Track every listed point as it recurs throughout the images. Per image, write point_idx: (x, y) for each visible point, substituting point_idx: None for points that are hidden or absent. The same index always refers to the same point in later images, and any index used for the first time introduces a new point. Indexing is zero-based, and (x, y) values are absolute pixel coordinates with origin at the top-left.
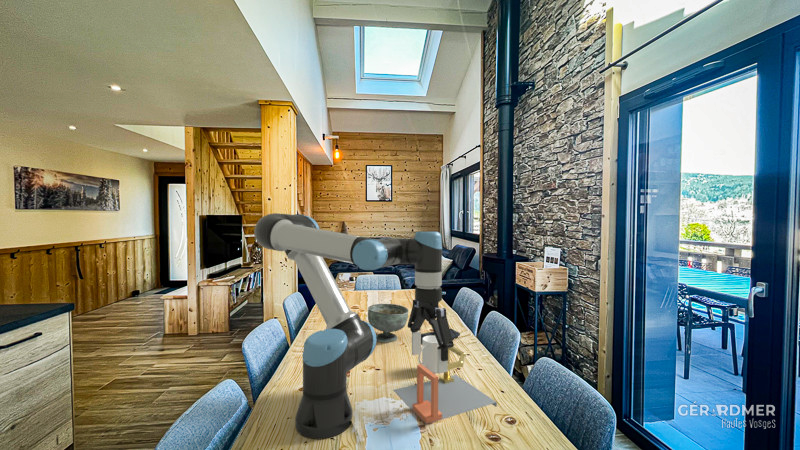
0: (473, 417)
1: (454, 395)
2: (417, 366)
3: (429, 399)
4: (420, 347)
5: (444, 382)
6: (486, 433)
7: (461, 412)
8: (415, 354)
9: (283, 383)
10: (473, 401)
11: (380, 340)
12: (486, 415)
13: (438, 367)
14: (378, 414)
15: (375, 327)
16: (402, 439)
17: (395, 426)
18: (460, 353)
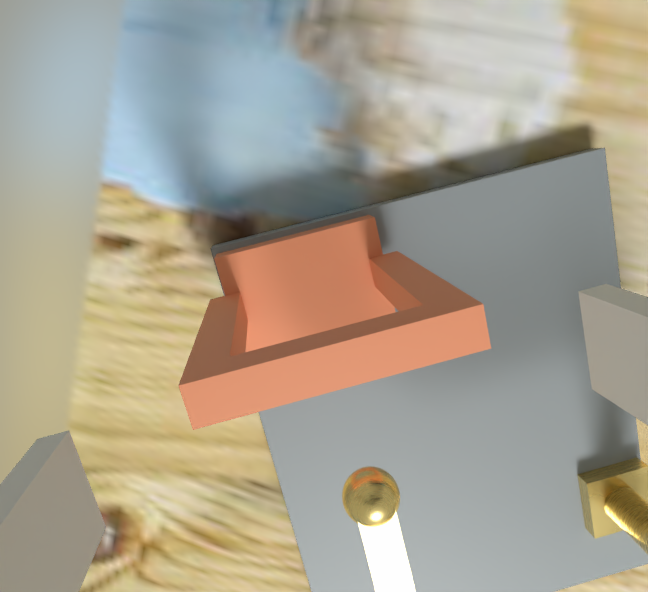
0: (263, 506)
1: (444, 483)
2: (471, 302)
3: None
4: (639, 413)
5: (586, 474)
6: (130, 516)
7: (279, 464)
8: (585, 323)
9: None
10: (364, 556)
11: None
12: (266, 569)
13: (19, 470)
14: (400, 7)
15: None
16: (145, 96)
17: (265, 85)
18: None
